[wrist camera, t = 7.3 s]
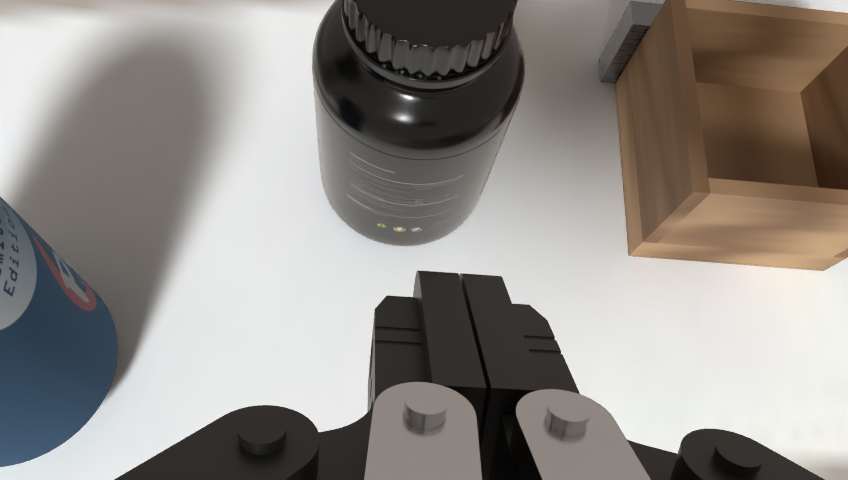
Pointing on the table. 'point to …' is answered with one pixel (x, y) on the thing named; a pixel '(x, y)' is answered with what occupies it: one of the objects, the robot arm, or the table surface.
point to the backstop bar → (626, 39)
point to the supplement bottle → (413, 110)
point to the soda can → (47, 345)
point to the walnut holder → (737, 135)
